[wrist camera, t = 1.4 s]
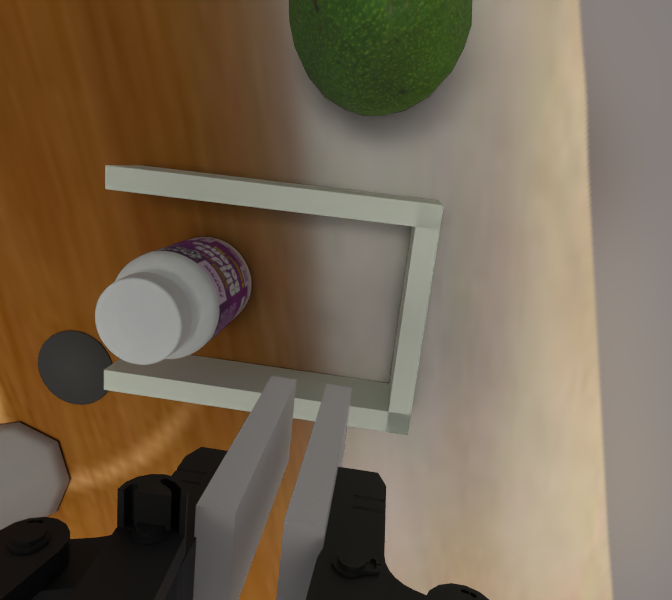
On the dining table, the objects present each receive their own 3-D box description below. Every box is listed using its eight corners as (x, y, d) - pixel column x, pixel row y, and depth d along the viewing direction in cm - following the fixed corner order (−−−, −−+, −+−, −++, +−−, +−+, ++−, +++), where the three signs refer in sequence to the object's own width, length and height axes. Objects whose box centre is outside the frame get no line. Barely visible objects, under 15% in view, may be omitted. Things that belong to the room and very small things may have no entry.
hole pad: (38, 325, 35) (37, 326, 35) (113, 336, 35) (112, 336, 35) (39, 397, 36) (39, 398, 36) (112, 409, 36) (112, 409, 36)
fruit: (276, 25, 29) (199, -65, 18) (399, -79, 28) (403, -254, 16) (363, 151, 31) (344, 142, 19) (487, 58, 29) (550, -14, 17)
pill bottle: (270, 266, 33) (220, 307, 23) (227, 337, 34) (163, 403, 25) (192, 217, 32) (110, 237, 23) (152, 291, 34) (59, 338, 24)
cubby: (140, 165, 32) (105, 165, 28) (437, 200, 31) (443, 205, 27) (135, 365, 35) (103, 389, 31) (406, 404, 34) (407, 435, 30)
